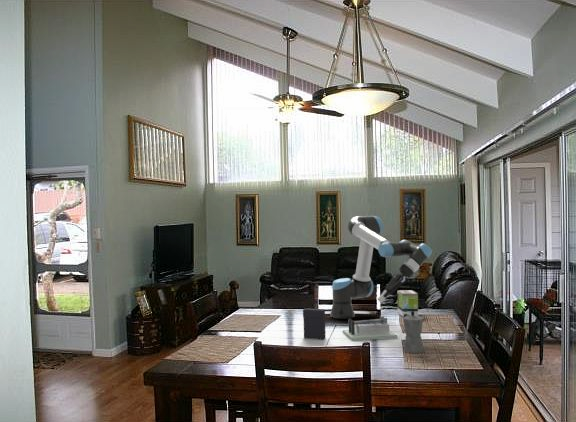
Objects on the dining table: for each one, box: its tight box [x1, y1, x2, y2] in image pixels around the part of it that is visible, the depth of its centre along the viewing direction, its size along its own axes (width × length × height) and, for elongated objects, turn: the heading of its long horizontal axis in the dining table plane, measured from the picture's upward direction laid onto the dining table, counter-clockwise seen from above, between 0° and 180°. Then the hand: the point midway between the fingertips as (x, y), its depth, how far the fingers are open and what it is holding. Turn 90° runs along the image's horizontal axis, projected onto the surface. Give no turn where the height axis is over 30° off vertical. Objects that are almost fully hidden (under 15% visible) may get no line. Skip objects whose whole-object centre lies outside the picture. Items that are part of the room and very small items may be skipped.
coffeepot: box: [402, 311, 424, 354], centre depth 227 cm, size 15×9×18 cm, turn 13°
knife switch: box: [347, 315, 391, 336], centre depth 257 cm, size 19×12×8 cm, turn 99°
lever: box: [353, 318, 383, 325], centre depth 257 cm, size 18×3×2 cm, turn 99°
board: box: [342, 329, 398, 342], centre depth 257 cm, size 24×18×2 cm
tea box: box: [396, 289, 419, 318], centre depth 309 cm, size 15×10×15 cm, turn 179°
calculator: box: [302, 308, 327, 341], centre depth 253 cm, size 11×4×15 cm, turn 65°
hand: (379, 301), depth 258 cm, fingers closed
